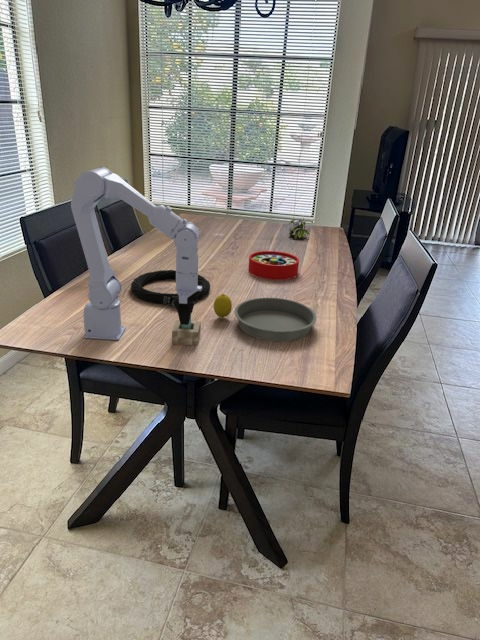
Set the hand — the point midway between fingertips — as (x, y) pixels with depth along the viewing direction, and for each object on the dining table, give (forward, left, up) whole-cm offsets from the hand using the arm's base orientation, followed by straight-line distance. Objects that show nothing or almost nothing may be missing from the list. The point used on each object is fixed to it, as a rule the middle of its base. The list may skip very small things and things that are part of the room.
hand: (186, 318), depth 126 cm
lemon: (+9, +15, -7) cm, 19 cm away
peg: (0, 0, -6) cm, 6 cm away
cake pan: (+25, +12, -7) cm, 29 cm away
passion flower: (+42, +123, -7) cm, 131 cm away
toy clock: (+27, +64, -7) cm, 70 cm away
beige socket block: (0, 0, -6) cm, 6 cm away
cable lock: (-10, +35, -7) cm, 38 cm away
